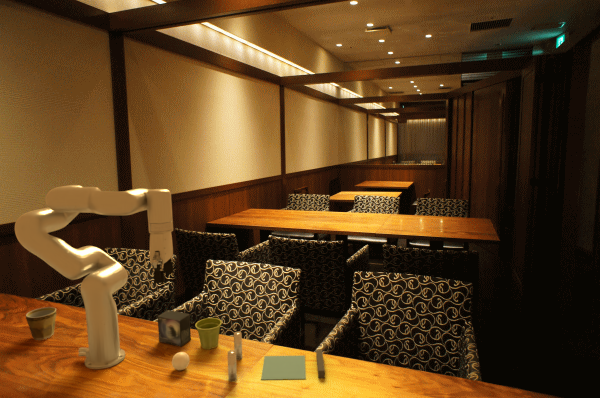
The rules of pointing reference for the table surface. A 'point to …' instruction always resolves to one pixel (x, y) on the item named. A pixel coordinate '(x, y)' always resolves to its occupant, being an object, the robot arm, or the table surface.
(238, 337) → the post
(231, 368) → the post
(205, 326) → the plant pot
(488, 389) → the table surface
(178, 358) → the ball
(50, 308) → the ceramic cup
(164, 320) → the small box
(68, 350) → the table surface
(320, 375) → the wall
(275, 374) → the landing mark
